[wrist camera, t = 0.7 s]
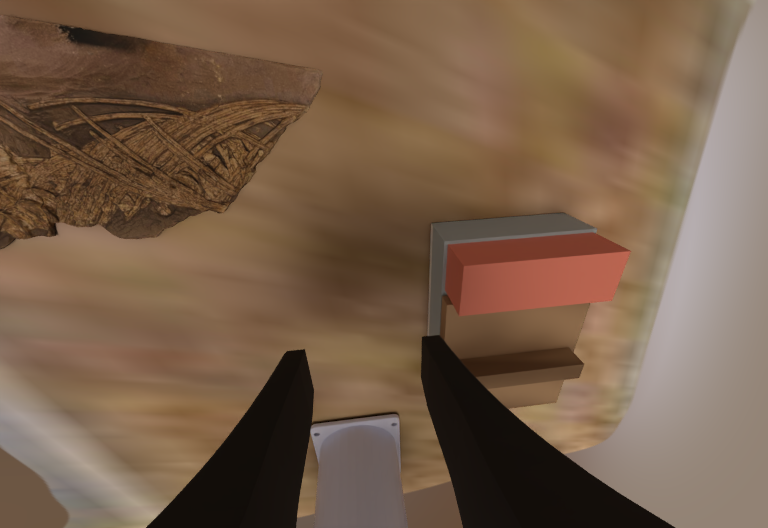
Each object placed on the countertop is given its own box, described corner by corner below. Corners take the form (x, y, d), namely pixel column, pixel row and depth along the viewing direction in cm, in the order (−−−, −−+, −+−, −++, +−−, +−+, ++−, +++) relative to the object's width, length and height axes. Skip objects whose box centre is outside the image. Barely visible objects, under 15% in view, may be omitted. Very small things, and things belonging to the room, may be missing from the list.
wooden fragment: (-97, 269, 17) (-123, 278, 16) (-331, 35, 12) (-388, 29, 11) (344, 206, 18) (344, 211, 17) (302, -31, 13) (298, -42, 12)
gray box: (526, 365, 26) (545, 394, 24) (426, 377, 26) (434, 407, 23) (563, 212, 20) (597, 228, 17) (430, 223, 19) (444, 241, 16)
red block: (579, 276, 19) (612, 300, 16) (444, 289, 18) (459, 316, 16) (593, 232, 17) (630, 251, 15) (447, 244, 17) (463, 266, 14)
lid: (548, 391, 23) (569, 420, 21) (435, 405, 23) (445, 437, 20) (582, 282, 19) (614, 305, 16) (442, 295, 18) (455, 321, 16)
